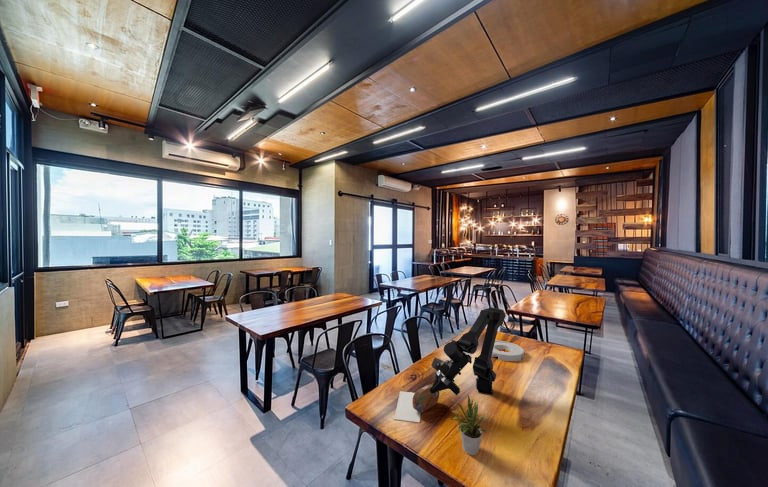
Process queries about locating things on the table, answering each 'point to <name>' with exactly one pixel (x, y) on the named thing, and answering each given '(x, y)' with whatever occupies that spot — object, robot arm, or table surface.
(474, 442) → the house plant
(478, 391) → the robot arm
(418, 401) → the tin
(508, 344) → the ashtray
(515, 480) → the table surface
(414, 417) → the mat
